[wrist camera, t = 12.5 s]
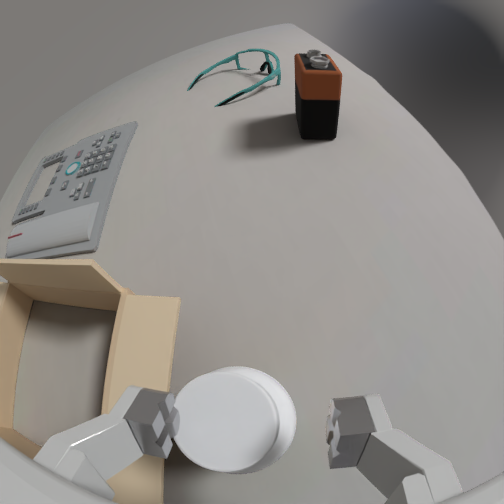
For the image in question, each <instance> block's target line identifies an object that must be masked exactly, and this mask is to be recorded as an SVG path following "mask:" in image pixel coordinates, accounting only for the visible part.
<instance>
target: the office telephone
mask: <svg viewBox="0 0 504 504" xmlns="http://www.w3.org/2000/svg"><path fill="white" fill-rule="evenodd" d="M137 126H138V124H137V122H136V121H134V122H130V123H127V124H124V125H121V126H118V127H115V128H112V129H109V130H106V131H103V132H100V133H97V134H95V135H92V136H89V137H87V138H84V139H82V140H80V141H79V142H78V143H77V144H75V145H73V146H71V147H68V148H66V149H64V150H61V151H59V152H57V153H54V154H52V155H50V156H47V157H44V158H43V159H42V160H41V162H40V163H39V165H38V167H37V169H36V170H35V172H34V174H33V176H32V178H31V180H30V182H29V183H28V185H27V187H26V189H25V192H24V194H23V196H22V198H21V200H20V202H19V204H18V206H17V209H16V211H15V214H14V216H13V219H12V222H13V223H14V224H16V223H18V222H21V221H23V220H26V219H29V218H32V217H35V216H38V215H41V214H42V215H41V216H40V217H38V218H35V219H32V220H29V221H26V222H24V223H21V224H19V225H17V226H16V227H15V228H14V229H13V230H12V232H11V234H10V237H8V239H9V240H8V244H7V253H6V256H5V259H48V258H55V257H61V256H68V255H74V254H81V253H89V252H96V250H97V249H98V246H99V241H100V237H101V233H102V230H103V226H104V222H105V218H106V214H107V211H108V207H109V204H110V200H111V197H112V193H113V190H114V187H115V184H116V181H117V178H118V175H119V172H120V169H121V166H122V163H123V160H124V157H125V155H126V152H127V149H128V147H129V144H130V142H131V140H132V138H133V136H134V134H135V131H136V129H137ZM59 161H61V162H60V164H59V166H58V168H57V170H56V172H55V175H54V177H53V178H52V180H51V183H50V185H49V187H48V189H47V191H46V194H45V196H44V199H43V200H41V201H39V202H36V203H33V204H31V205H28V206H25V205H26V203H27V200H28V198H29V196H30V194H31V192H32V190H33V188H34V186H35V184H36V182H37V180H38V178H39V176H40V174H41V173H42V171H43V169H44V168H46V167H48V166H50V165H52V164H54V163H57V162H59Z"/></svg>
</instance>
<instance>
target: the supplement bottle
mask: <svg viewBox="0 0 504 504" xmlns="http://www.w3.org/2000/svg"><path fill="white" fill-rule="evenodd" d="M174 407H175V408H176V409H177V410H178V411H179V415H180V425H179V430H178V433H177V435H176V436H174V437H173V438H174V440H175V442H176V444H177V445H178V447H179V448H180V450H181V451H182V452H183V454H184V455H185V456H186V457H188V458H189V459H190V460H191V461H193V462H194V463H196V464H197V465H199V466H201V467H203V468H206V469H209V470H212V471H218V472H225V473H230V474H247V473H252V472H257V471H259V470H262V469H264V468H266V467H268V466H270V465H272V464H273V463H275V462H276V461H277V460H278V459H279V458H280V457H281V456H282V455H283V454H284V453H285V452H286V451H287V449H288V448H289V446H290V444H291V443H292V440H293V438H294V435H295V431H296V423H297V418H296V411H295V407H294V404H293V402H292V400H291V398H290V396H289V394H288V393H287V391H286V390H285V389H284V387H283V386H282V385H281V384H280V383H279V382H278V381H276V380H275V379H274V378H272V377H271V376H269V375H268V374H266V373H264V372H262V371H259V370H256V369H253V368H249V367H242V366H232V367H224V368H220V369H217V370H214V371H212V372H210V373H207V374H204V375H201V376H199V377H197V378H195V379H193V380H192V381H190V382H189V383H187V384H186V385H185V386H184V387H183V388H182V389H181V390H180V392H179V393H178V395H177V396H176V398H175V404H174Z"/></svg>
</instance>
